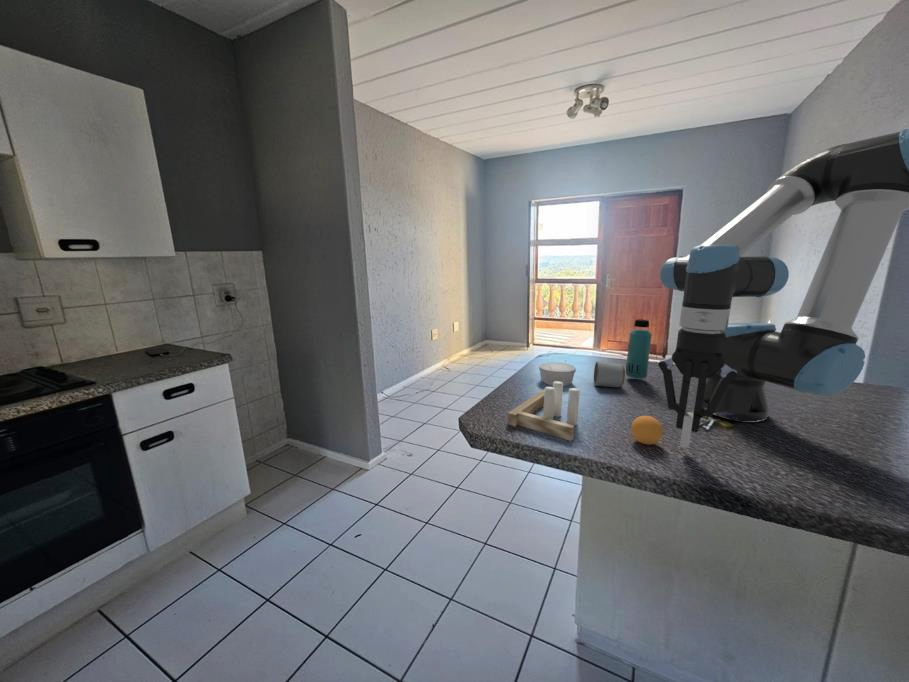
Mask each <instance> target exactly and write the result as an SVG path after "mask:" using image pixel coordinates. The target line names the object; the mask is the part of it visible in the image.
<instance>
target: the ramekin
mask: <svg viewBox="0 0 909 682" xmlns="http://www.w3.org/2000/svg"><path fill="white" fill-rule="evenodd" d="M538 370H539V373H540V374H539V376H540V380H541V382H542V383H543V382H544V383H543V384H545V385H547V384H548V385H547V386H551V385H552V386H551V387H553V382H555V381H559V382H562V383H563V387H567V386H569V385H571V384H572V383H573V380H574V376H575V373H576V371H577V369H576V366H574V365H573V364H570V363H566V362H559V361H554V362H553V361H550V362H543V363H540V364H539V366H538Z"/></svg>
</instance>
